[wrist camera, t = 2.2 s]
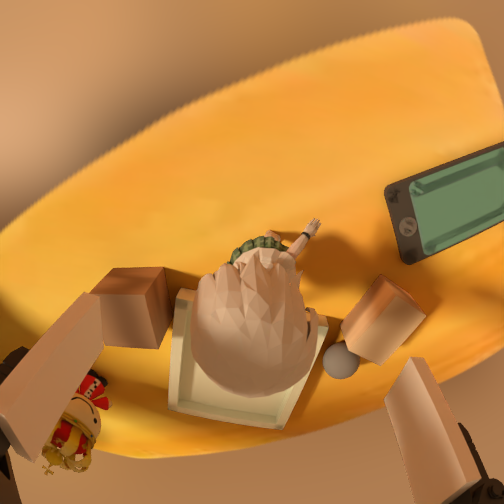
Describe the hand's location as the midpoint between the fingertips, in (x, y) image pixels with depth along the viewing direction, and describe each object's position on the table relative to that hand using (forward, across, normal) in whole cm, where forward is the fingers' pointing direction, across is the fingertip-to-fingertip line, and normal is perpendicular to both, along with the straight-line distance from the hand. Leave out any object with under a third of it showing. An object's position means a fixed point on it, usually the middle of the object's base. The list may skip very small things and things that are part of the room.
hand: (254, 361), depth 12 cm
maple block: (+14, +12, -4) cm, 19 cm away
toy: (+14, -15, -21) cm, 30 cm away
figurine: (+14, 0, 0) cm, 14 cm away
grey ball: (+14, +10, -9) cm, 19 cm away
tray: (+14, +1, -13) cm, 19 cm away
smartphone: (+15, +16, +8) cm, 24 cm away
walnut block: (+14, -9, -7) cm, 18 cm away
